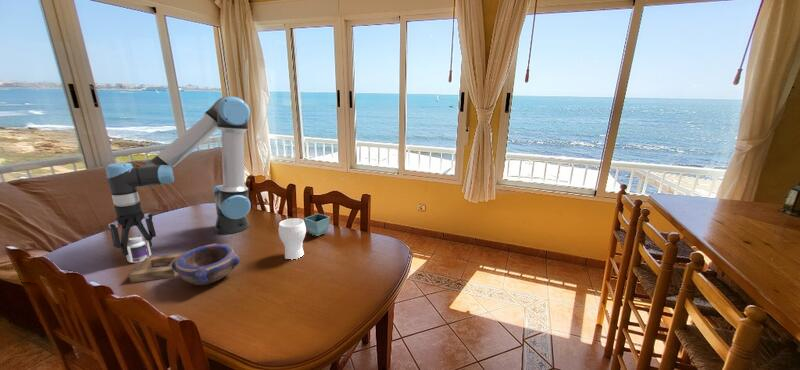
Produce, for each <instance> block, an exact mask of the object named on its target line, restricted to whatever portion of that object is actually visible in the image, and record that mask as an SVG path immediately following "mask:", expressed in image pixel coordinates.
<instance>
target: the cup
mask: <svg viewBox="0 0 800 370" xmlns="http://www.w3.org/2000/svg"><path fill="white" fill-rule="evenodd" d="M277 232H278V237H279V239H280V240H281V242H282V243H283V245H284V251H285V252H284V259H286V260H287V259H291V260H290V261H294V260H293V259H296V260H299V259H301V258H300V257H302V256H303V255H305V252H304V249H303V245H304V244H303V241H304V239H305V237H306V233H307V228H306V225H305V220H304V219H302V218H298V217H297V218H296V217H294V218H287V219H284V220H281V221H280V222H279V223H278V231H277ZM303 257H304V256H303ZM303 257H302V258H303ZM298 258H299V259H298Z"/></svg>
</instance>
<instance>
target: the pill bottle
mask: <svg viewBox="0 0 800 370" xmlns="http://www.w3.org/2000/svg"><path fill="white" fill-rule="evenodd" d="M127 246H129V247H130V249H131V253H132V258H133V262H132V263H133V264H138V263H139V264H140V263H142V262H143V261H144V259H145V258H149V257H150V256H148V252H147V247H146V243H145V241H143V235H134V236H132V237H128V244H127Z"/></svg>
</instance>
